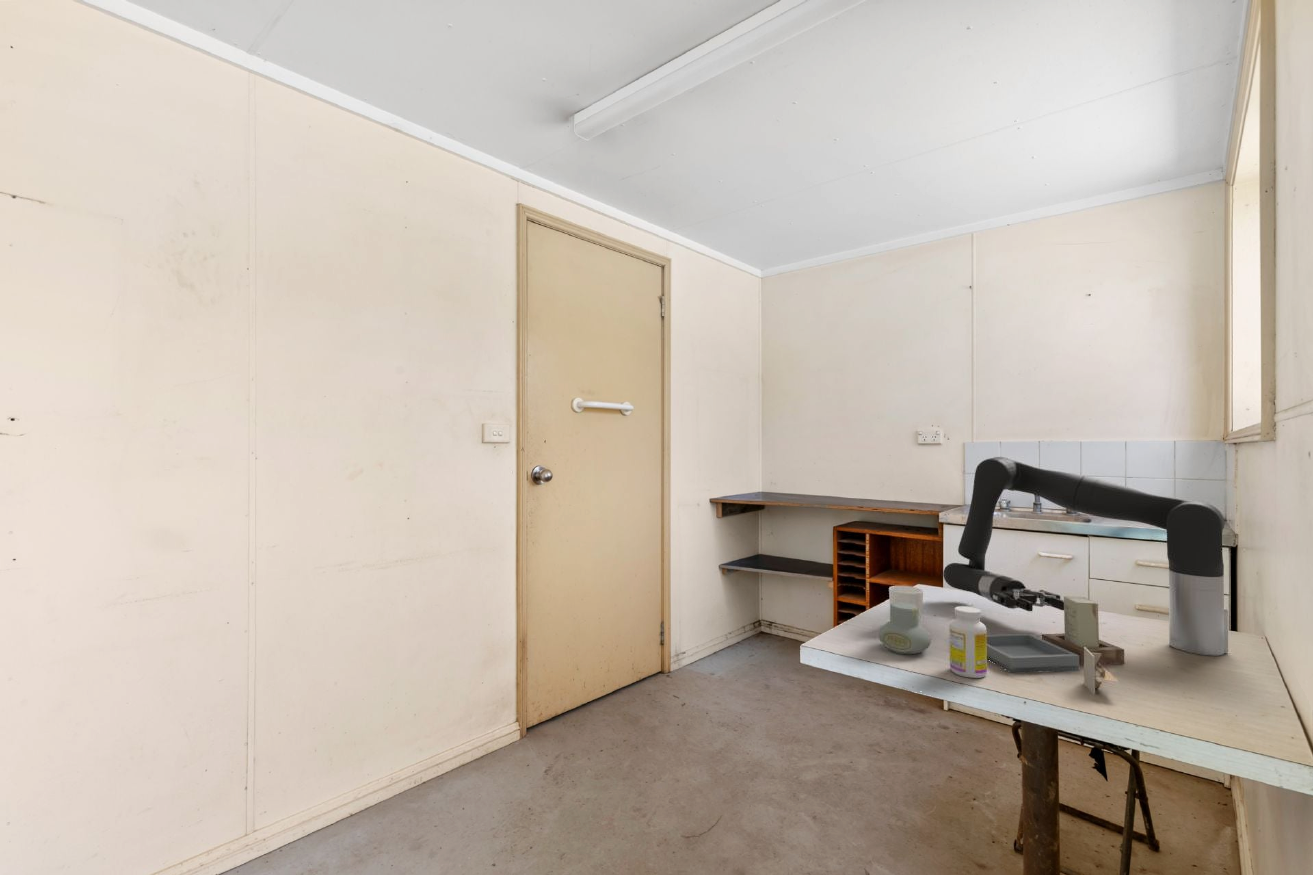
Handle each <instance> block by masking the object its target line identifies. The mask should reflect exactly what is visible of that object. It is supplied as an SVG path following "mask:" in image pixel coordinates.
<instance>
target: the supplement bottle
mask: <svg viewBox="0 0 1313 875" xmlns="http://www.w3.org/2000/svg"><path fill="white" fill-rule="evenodd" d="M981 613H982V612H981V610H980V609H979V608H976V607H972V606H965V605H964V606H955V608H954V616H955V618H954V619H952V620H951V621H950V622H949V667H950V670H951V671H952V672H953V673H954V674H956V675H958V676H961V677H965V678H970V679H972V678H973V679H981V678H984V677H986V676H987V675H988V660H987V635H988V633H987V627H986V625H985V624H984V623H983V622H981V616H982V614H981Z"/></svg>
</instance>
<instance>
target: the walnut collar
mask: <svg viewBox="0 0 1313 875" xmlns="http://www.w3.org/2000/svg"><path fill="white" fill-rule="evenodd" d="M1041 639H1043V640H1045V641H1047V642H1049V643H1052V644H1054V645H1056V646H1059V647H1061V648H1063V649H1065V650H1068V651H1070V652H1072V653H1074V654H1077V655H1079V666H1084V648H1082V647H1080V646H1077V645H1075V644H1072V643H1070V642H1068V641H1065V632H1063V633H1042V634H1041ZM1087 649H1088V650H1089V651H1090V653H1099V654H1101V656H1100V658H1099V659H1100V660H1098V661H1099V662H1098V663H1099V664H1100V665H1101V666H1102V665H1119V664H1120V665H1124V664H1125V648H1123V647H1119V646H1117V645H1114V644H1113V643H1109V642H1107V641H1104V640H1101V639H1099V648H1087ZM1100 665H1099V666H1100Z"/></svg>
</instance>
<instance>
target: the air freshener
mask: <svg viewBox="0 0 1313 875" xmlns="http://www.w3.org/2000/svg"><path fill="white" fill-rule="evenodd" d="M889 612H890V613H889V615H890V616H889V621H888V622H886V623H884V624H882V625H881V626H880V628H879V630H878V638H879V641H880V642H881V643H882V645H883V646H885V647H886V648H887V649H889V650H890V651H893V652H894V653H896V654H900V655H914V654H919V653H923V652H925V651H926V650H927V649H928V648H929V647H930V645H931V644H932V637H931V635H930V633H929V632H928V630H927V629H926V628H925V627H924V626H922V625H921V626H920V625H919V617H918V607H917V606H916V605H913V604H910V603H902V602H897V603H892V604H891V605H890V604H889Z"/></svg>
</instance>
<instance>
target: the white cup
mask: <svg viewBox="0 0 1313 875" xmlns="http://www.w3.org/2000/svg"><path fill="white" fill-rule="evenodd" d="M888 592H889V593H888V595H889V606H890V605H891V604H892V603H897V602H902V603H910V604H913V605H916V606H917V607H918V617H919V625H920V626H922V619H923V618H922V617H923V607H924V606H923V604H924V603H923V601H924V590H923V589H922V588H919V587H915V586H909V585H893V586H889V588H888Z"/></svg>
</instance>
